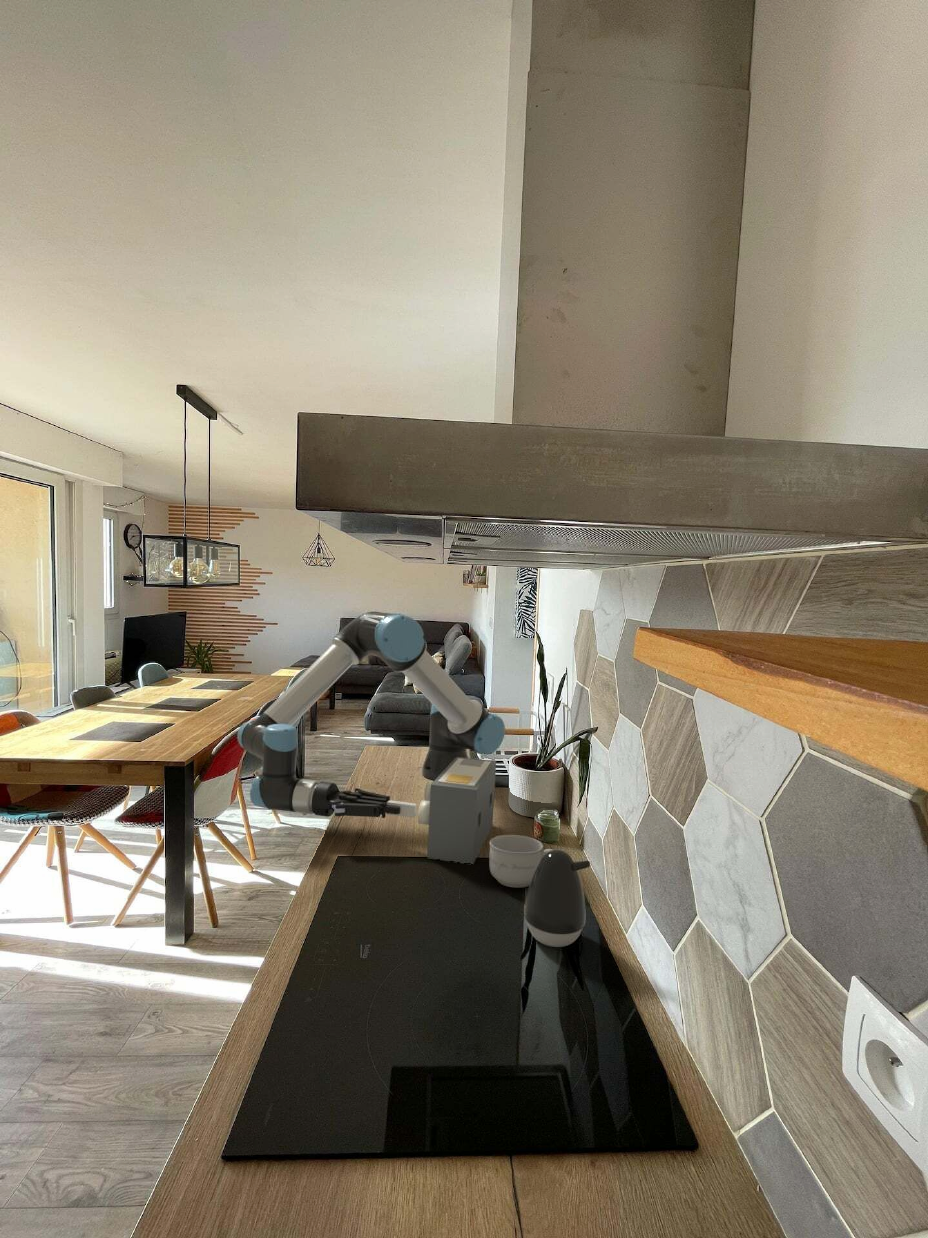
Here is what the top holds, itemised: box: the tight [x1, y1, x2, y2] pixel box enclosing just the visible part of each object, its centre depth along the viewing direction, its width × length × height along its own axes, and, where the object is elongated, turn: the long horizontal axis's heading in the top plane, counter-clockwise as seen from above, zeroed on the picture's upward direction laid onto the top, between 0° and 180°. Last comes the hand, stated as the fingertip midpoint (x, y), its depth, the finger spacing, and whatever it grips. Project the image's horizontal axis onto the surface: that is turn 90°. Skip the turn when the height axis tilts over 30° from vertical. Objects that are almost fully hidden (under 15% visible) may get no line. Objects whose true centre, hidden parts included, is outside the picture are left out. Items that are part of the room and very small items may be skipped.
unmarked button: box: [423, 780, 434, 801], centre depth 158 cm, size 5×8×5 cm, turn 77°
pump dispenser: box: [524, 848, 591, 948], centre depth 110 cm, size 10×10×15 cm
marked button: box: [417, 799, 430, 826], centre depth 144 cm, size 5×8×5 cm, turn 77°
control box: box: [426, 757, 497, 865], centre depth 150 cm, size 24×10×16 cm, turn 167°
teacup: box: [488, 834, 553, 889], centre depth 130 cm, size 14×11×8 cm
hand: (415, 810), depth 145 cm, fingers closed
